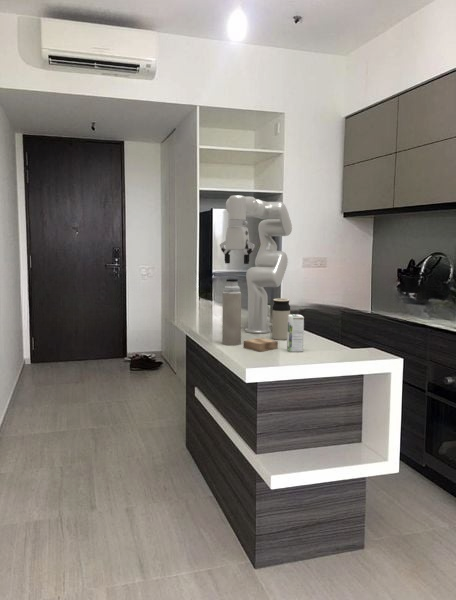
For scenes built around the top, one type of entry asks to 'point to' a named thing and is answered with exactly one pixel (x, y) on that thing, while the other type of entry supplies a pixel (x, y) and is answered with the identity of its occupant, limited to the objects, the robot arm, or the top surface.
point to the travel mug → (280, 318)
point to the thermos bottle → (231, 313)
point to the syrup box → (295, 333)
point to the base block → (260, 344)
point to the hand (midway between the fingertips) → (236, 263)
